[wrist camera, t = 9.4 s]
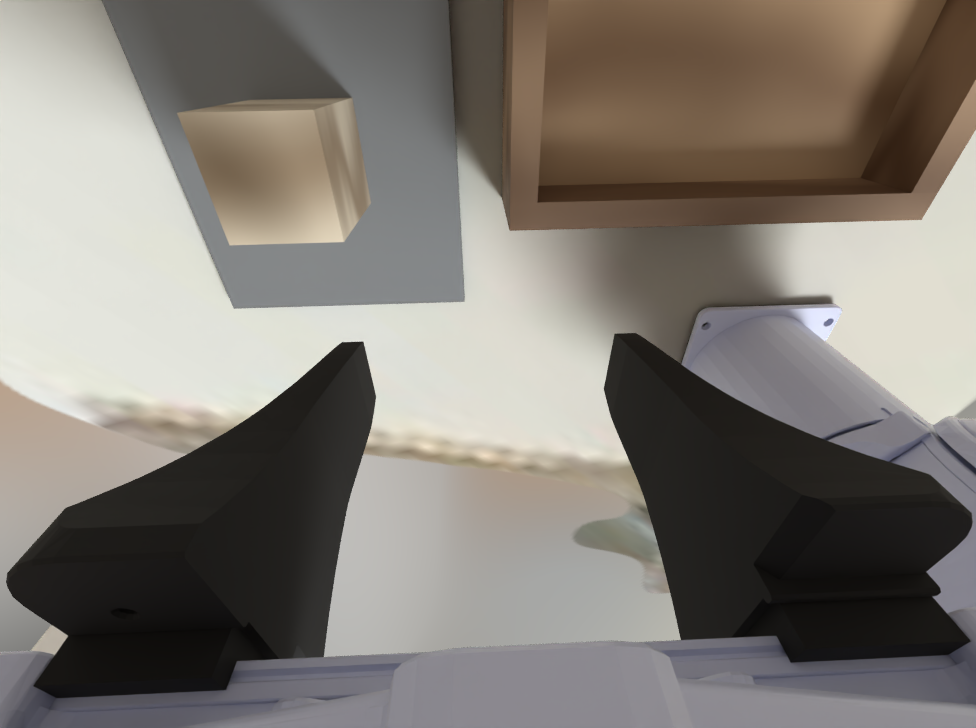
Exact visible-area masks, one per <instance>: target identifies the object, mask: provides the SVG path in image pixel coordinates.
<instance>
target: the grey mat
mask: <svg viewBox="0 0 976 728" xmlns="http://www.w3.org/2000/svg"><path fill="white" fill-rule="evenodd" d="M102 2H103V4H104V6H105V9H106V11H107V13H108V16H109V18H110V20H111V23H112V25H113V27H114V30H115V32H116V34H117V37H118V39H119V41H120V44H121V46H122V48H123V51H124V53H125V55H126V58H127V60H128V62H129V65H130V67H131V69H132V72H133V74H134V76H135V79H136V81H137V83H138V86H139V88H140V90H141V93H142V95H143V97H144V100H145V102H146V104H147V107H148V109H149V111H150V114H151V116H152V118H153V121H154V123H155V125H156V128H157V130H158V132H159V135H160V137H161V139H162V142H163V144H164V146H165V149H166V151H167V153H168V156H169V158H170V160H171V163H172V165H173V167H174V170H175V172H176V174H177V177H178V179H179V181H180V184H181V186H182V188H183V191H184V193H185V195H186V198H187V200H188V202H189V205H190V207H191V209H192V212H193V214H194V216H195V219H196V221H197V223H198V226H199V228H200V231H201V233H202V235H203V238H204V240H205V242H206V245H207V247H208V249H209V252H210V254H211V256H212V259H213V261H214V263H215V266H216V268H217V270H218V273H219V275H220V277H221V280H222V282H223V284H224V287H225V289H226V291H227V294H228V296H229V298H230V301H231V303H232V305H233V308H268V307H302V306H335V305H369V304H402V303H436V302H464V297H465V296H464V277H463V259H462V240H461V221H460V202H459V183H458V165H457V146H456V127H455V108H454V90H453V71H452V52H451V33H450V15H449V0H102ZM315 98H352V99H353V104H354V110H355V115H356V121H357V127H358V132H359V138H360V144H361V149H362V155H363V160H364V166H365V172H366V177H367V183H368V189H369V194H370V200H371V204H370V205H369V207H368V208H367V210H366V211H365V212H364V214H363V215H362V217H361V218H360V220H359V221H358V222H357V224H356V225H355V227H354V228H353V230H352V231H351V233H350V234H349V235H348V237H347V238H346V240H345V241H344V242H330V243H295V244H260V245H229V243H228V240H227V238H226V235H225V233H224V230H223V228H222V225H221V223H220V220H219V218H218V215H217V212H216V210H215V207H214V205H213V202H212V200H211V197H210V195H209V192H208V190H207V187H206V185H205V182H204V180H203V177H202V175H201V172H200V170H199V167H198V165H197V162H196V160H195V157H194V155H193V152H192V150H191V147H190V145H189V142H188V140H187V137H186V134H185V132H184V129H183V127H182V124H181V122H180V119H179V117H178V114H177V113H179V112H185V111H190V110H196V109H201V108H207V107H213V106H218V105H224V104H230V103H235V102H241V101H247V100H269V99H315Z"/></svg>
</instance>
